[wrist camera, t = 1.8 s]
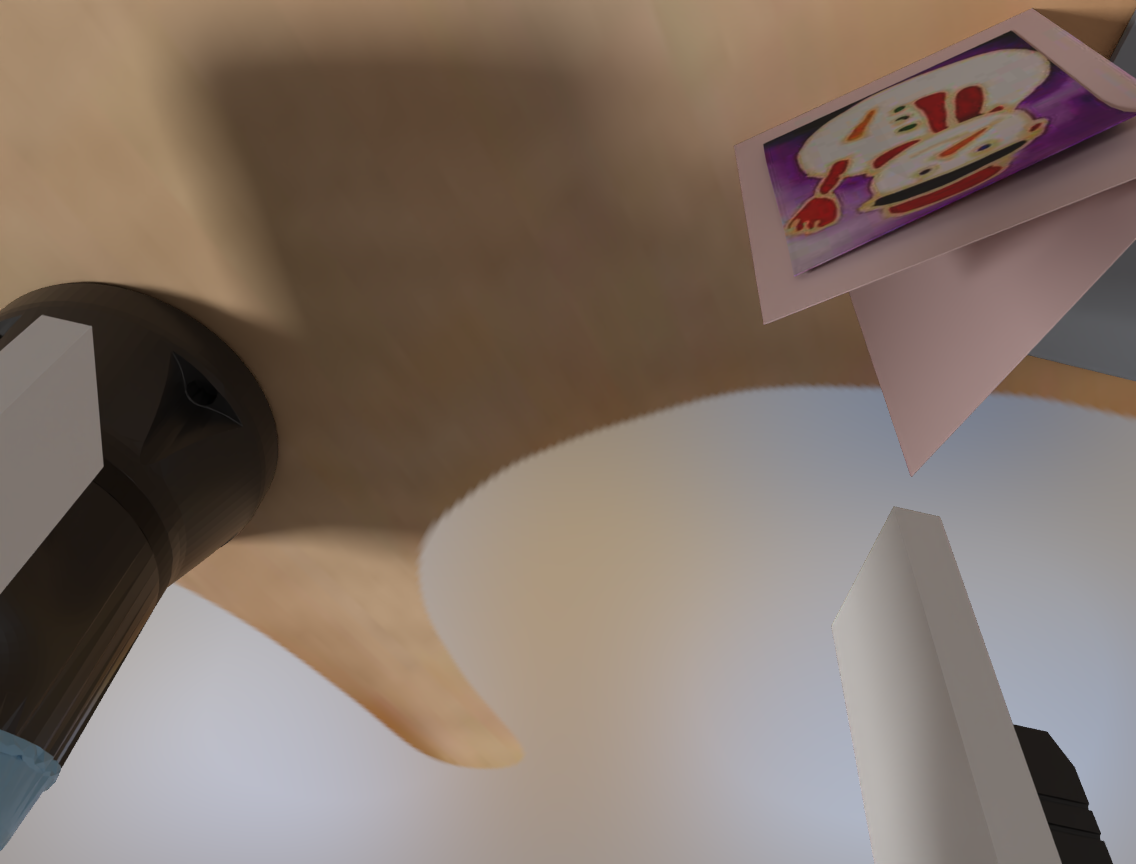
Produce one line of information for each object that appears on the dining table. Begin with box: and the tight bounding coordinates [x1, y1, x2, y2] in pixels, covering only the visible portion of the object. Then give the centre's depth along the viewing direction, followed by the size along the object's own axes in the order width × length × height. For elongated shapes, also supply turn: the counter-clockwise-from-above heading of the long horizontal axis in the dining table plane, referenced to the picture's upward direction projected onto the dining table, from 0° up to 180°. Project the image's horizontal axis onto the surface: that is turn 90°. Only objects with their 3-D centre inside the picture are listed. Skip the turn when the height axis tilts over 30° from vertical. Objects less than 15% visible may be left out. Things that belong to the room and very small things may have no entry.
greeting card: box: [734, 8, 1136, 477], centre depth 32 cm, size 11×7×15 cm, turn 117°
